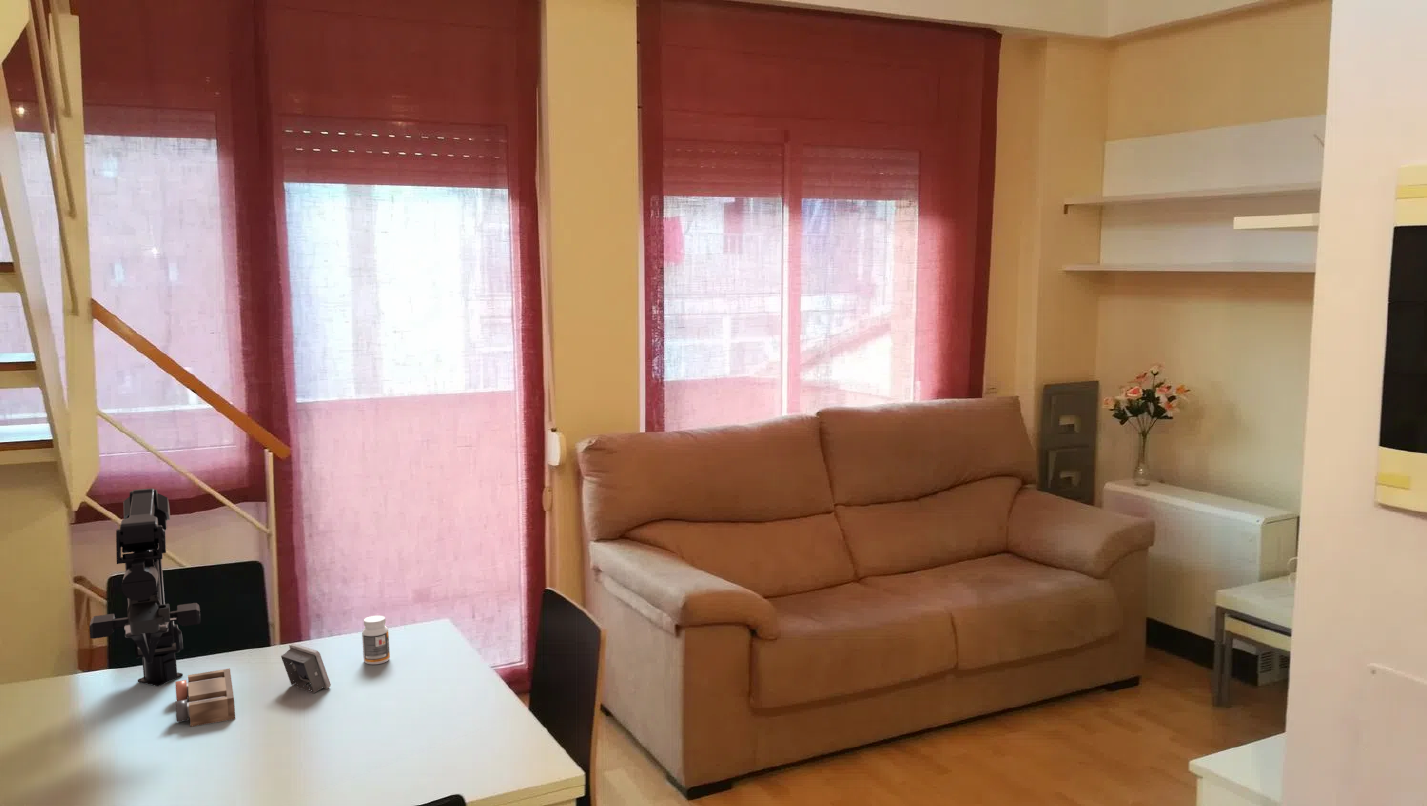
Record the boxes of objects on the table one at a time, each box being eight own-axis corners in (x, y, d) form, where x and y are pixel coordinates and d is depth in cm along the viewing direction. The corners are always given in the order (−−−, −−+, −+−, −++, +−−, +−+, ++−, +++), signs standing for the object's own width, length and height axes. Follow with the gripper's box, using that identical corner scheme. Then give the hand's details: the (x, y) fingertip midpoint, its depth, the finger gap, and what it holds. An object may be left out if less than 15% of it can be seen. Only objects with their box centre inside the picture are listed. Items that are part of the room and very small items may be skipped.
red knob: (176, 704, 217) (175, 685, 217) (176, 697, 221) (175, 678, 220) (224, 696, 221) (222, 677, 220) (223, 689, 225) (222, 671, 224)
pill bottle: (394, 660, 242) (392, 618, 240) (371, 667, 237) (369, 624, 236) (381, 654, 245) (379, 612, 244) (358, 661, 241) (356, 618, 240)
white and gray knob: (176, 725, 207) (175, 705, 207) (176, 717, 211) (175, 698, 210) (226, 716, 211) (225, 697, 211) (225, 709, 215) (224, 690, 214)
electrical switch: (332, 688, 226) (326, 648, 224) (311, 699, 222) (305, 657, 220) (304, 679, 231) (298, 639, 229) (283, 689, 227) (277, 649, 225)
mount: (190, 726, 208) (189, 705, 207) (189, 695, 223) (188, 675, 222) (235, 718, 211) (233, 697, 211) (231, 688, 226) (229, 668, 226)
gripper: (84, 604, 193) (91, 686, 196) (197, 590, 202) (203, 668, 204) (88, 587, 203) (95, 665, 205) (197, 574, 211) (202, 649, 214)
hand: (149, 662), depth 207 cm, fingers closed
